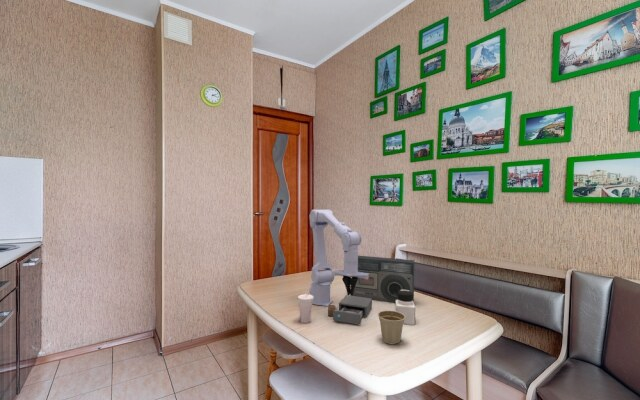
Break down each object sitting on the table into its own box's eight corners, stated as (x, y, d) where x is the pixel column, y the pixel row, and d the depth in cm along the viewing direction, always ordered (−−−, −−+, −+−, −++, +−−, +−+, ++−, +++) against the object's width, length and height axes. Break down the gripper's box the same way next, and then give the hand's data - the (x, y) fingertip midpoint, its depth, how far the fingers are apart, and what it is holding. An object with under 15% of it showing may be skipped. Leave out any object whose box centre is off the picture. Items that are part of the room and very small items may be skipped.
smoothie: (301, 325, 112) (301, 289, 112) (294, 319, 117) (295, 284, 117) (316, 322, 115) (316, 286, 115) (309, 316, 120) (309, 282, 120)
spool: (326, 316, 121) (326, 306, 121) (329, 313, 124) (329, 304, 124) (334, 317, 119) (334, 308, 119) (336, 314, 122) (336, 305, 122)
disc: (341, 316, 117) (341, 312, 117) (345, 311, 122) (345, 308, 122) (354, 319, 115) (354, 315, 115) (358, 314, 120) (358, 310, 120)
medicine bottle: (415, 325, 113) (415, 294, 113) (396, 323, 115) (396, 293, 115) (413, 318, 120) (413, 289, 120) (395, 316, 122) (395, 287, 122)
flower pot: (374, 334, 105) (374, 310, 105) (399, 333, 106) (399, 309, 106) (381, 347, 96) (382, 321, 96) (409, 346, 97) (409, 320, 97)
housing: (366, 317, 120) (366, 307, 120) (338, 313, 124) (338, 302, 124) (371, 308, 130) (371, 298, 130) (346, 304, 135) (346, 295, 135)
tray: (359, 325, 111) (359, 315, 111) (332, 320, 115) (332, 310, 115) (366, 314, 122) (366, 304, 122) (341, 310, 126) (341, 301, 126)
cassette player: (352, 297, 145) (352, 257, 145) (355, 293, 152) (356, 255, 152) (412, 306, 135) (413, 263, 135) (413, 301, 141) (414, 260, 141)
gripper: (330, 261, 117) (330, 295, 117) (366, 265, 112) (365, 300, 112) (336, 258, 124) (335, 290, 124) (369, 261, 119) (369, 294, 119)
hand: (350, 294), depth 118 cm, fingers closed
